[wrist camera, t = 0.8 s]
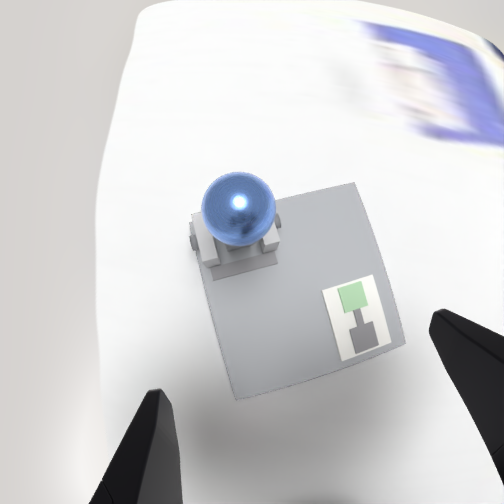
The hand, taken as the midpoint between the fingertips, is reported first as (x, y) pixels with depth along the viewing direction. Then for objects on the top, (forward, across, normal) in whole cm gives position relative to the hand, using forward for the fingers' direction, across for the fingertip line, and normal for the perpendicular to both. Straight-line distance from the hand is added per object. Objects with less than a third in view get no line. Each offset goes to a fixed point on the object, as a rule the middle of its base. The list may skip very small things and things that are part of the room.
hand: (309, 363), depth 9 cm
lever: (+13, +1, +2) cm, 13 cm away
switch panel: (+12, -3, +7) cm, 14 cm away
